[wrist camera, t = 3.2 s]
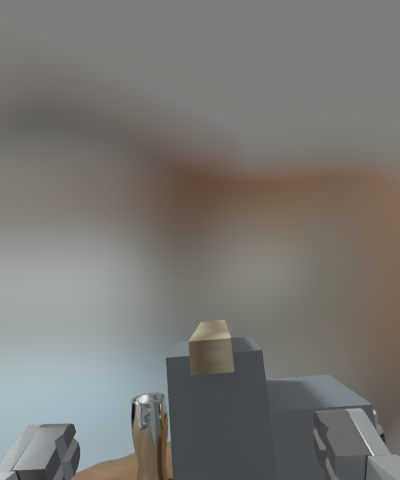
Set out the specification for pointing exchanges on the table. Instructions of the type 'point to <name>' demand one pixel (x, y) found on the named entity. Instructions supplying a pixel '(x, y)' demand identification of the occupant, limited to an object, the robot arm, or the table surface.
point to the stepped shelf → (248, 418)
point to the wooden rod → (211, 349)
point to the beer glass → (150, 435)
